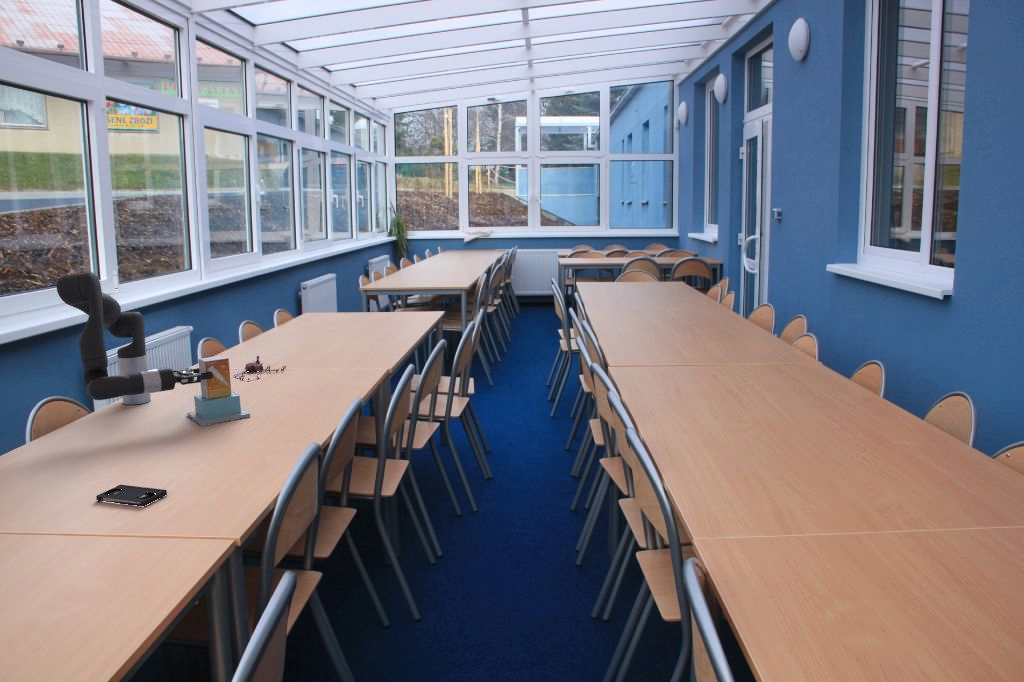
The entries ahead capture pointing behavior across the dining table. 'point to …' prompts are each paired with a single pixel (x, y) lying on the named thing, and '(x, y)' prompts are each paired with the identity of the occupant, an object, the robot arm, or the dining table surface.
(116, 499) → the vhs tape
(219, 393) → the small box
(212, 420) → the tower base
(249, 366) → the playset
